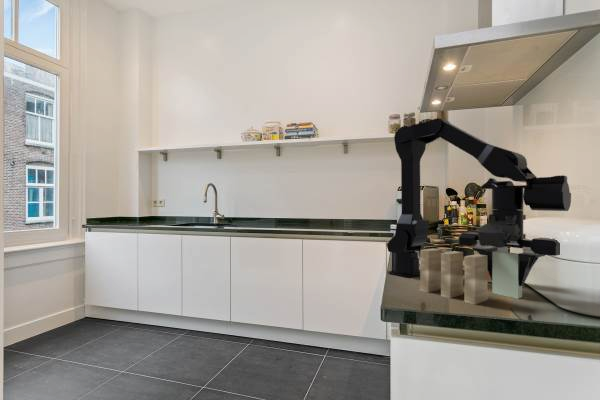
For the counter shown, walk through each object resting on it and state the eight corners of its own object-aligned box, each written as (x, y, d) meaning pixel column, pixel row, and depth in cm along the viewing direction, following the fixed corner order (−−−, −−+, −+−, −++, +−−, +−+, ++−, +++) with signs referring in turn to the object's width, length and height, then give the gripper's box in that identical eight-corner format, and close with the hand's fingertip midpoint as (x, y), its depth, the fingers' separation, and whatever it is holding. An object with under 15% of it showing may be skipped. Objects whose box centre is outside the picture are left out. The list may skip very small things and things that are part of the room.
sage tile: (517, 298, 67) (518, 254, 68) (492, 293, 72) (492, 251, 72) (522, 297, 69) (522, 254, 69) (496, 291, 73) (496, 250, 73)
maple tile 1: (420, 290, 73) (420, 250, 73) (433, 287, 76) (433, 248, 76) (428, 292, 71) (428, 251, 72) (441, 289, 74) (441, 249, 74)
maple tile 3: (464, 301, 65) (464, 256, 65) (477, 297, 68) (477, 254, 68) (474, 304, 63) (474, 257, 63) (487, 300, 66) (487, 255, 66)
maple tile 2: (440, 295, 69) (441, 253, 69) (453, 292, 72) (454, 251, 72) (450, 298, 67) (450, 254, 67) (462, 294, 70) (463, 252, 70)
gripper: (445, 209, 73) (444, 279, 73) (544, 211, 58) (544, 300, 58) (470, 208, 80) (470, 273, 80) (566, 211, 64) (566, 290, 64)
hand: (506, 283), depth 70 cm, fingers closed on sage tile, 5 cm apart
